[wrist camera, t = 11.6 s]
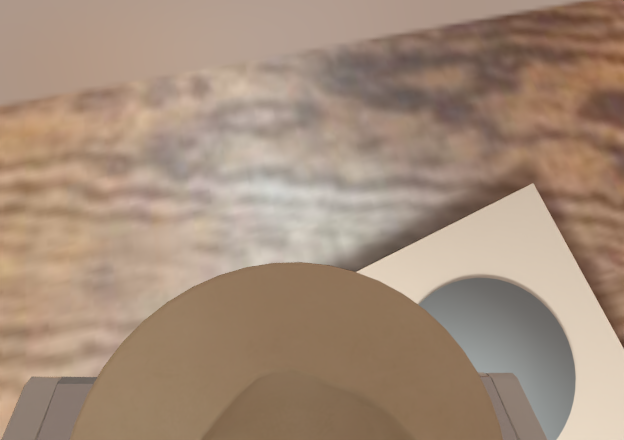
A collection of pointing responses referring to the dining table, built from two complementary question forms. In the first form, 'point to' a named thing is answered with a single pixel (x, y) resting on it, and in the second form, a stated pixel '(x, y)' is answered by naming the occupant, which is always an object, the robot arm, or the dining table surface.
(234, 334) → the candle
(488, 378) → the robot arm
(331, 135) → the dining table surface
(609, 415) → the base board
